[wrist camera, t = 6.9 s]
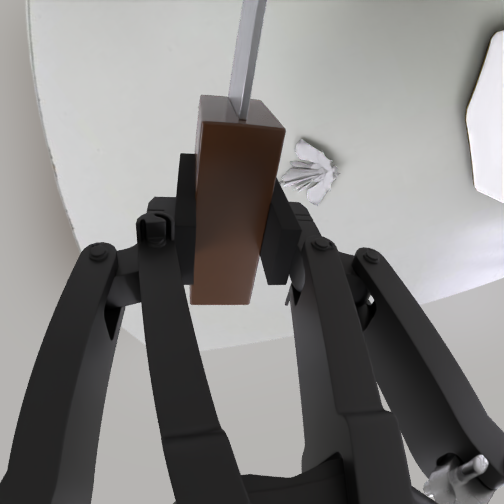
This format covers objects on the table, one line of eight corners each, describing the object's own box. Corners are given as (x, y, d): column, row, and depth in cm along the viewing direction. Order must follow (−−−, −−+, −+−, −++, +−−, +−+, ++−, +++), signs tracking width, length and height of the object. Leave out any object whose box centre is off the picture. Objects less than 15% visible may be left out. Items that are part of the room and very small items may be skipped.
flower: (274, 210, 35) (276, 225, 33) (253, 146, 30) (253, 158, 28) (341, 195, 34) (347, 209, 32) (328, 128, 29) (334, 139, 27)
